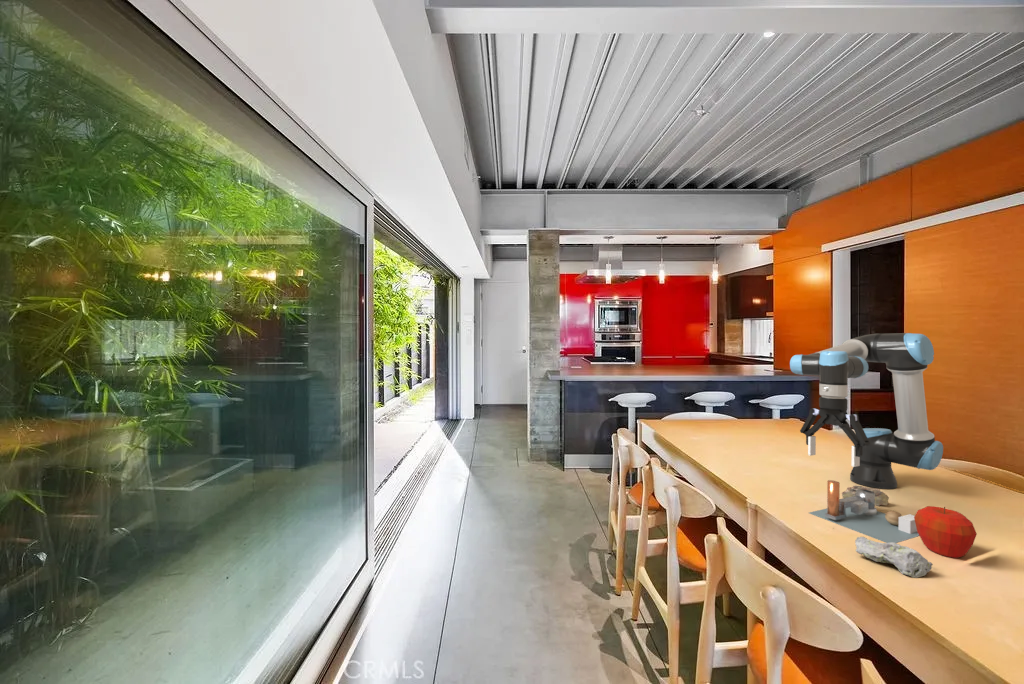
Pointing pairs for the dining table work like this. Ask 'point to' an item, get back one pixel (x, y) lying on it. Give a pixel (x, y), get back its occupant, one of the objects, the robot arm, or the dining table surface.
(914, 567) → the mineral specimen
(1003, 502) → the dining table surface
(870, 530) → the board
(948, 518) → the apple
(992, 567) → the dining table surface
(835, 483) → the lever
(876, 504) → the rock
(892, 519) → the light brown ball
